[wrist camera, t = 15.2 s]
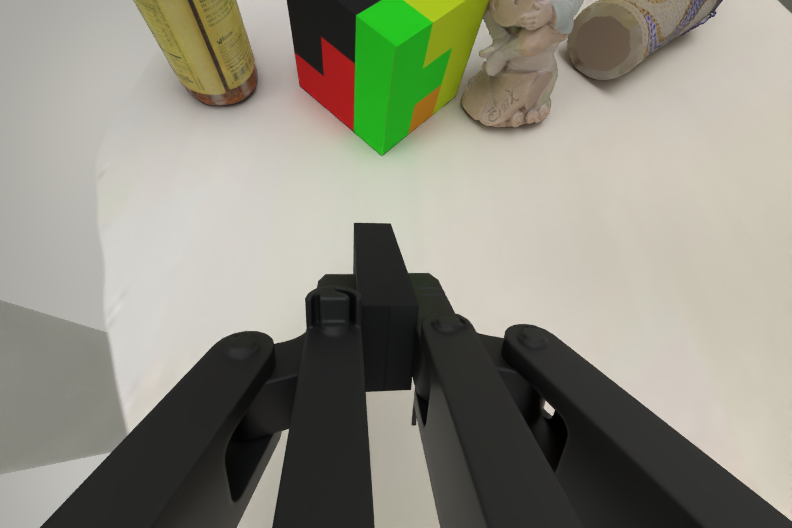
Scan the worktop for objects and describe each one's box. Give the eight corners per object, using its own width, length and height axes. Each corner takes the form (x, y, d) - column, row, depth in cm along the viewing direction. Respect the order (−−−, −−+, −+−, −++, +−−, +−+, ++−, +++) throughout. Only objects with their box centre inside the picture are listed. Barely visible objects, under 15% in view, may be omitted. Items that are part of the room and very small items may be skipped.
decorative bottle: (606, 100, 36) (659, 37, 30) (552, 52, 38) (591, -17, 32) (731, 13, 44) (792, -51, 38) (681, -23, 46) (733, -89, 40)
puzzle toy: (377, 36, 35) (388, -95, 26) (455, 96, 34) (495, -20, 25) (299, 85, 32) (280, -44, 23) (381, 155, 30) (396, 47, 21)
